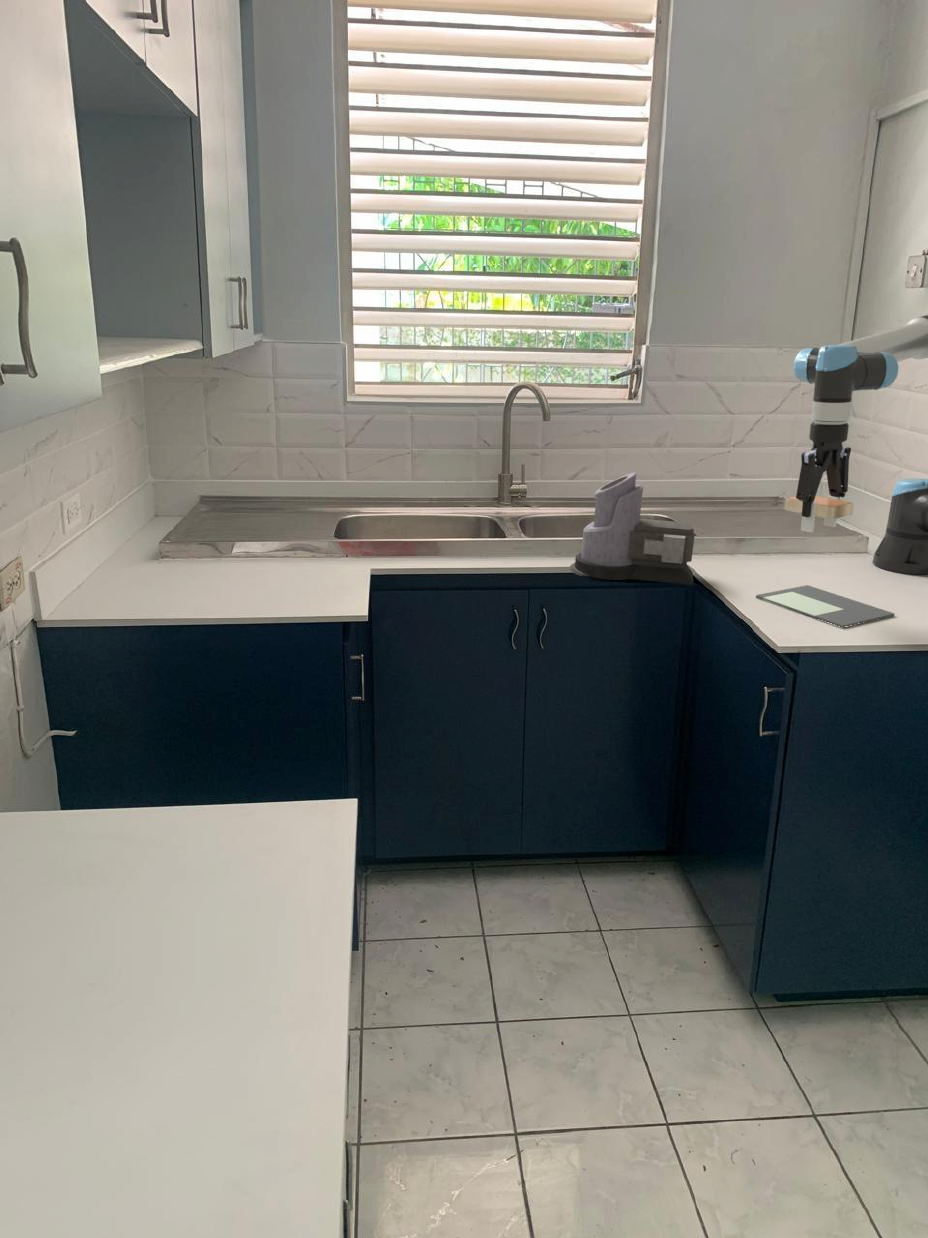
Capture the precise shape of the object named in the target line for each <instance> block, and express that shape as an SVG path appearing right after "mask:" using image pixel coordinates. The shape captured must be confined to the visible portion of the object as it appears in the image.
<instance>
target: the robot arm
mask: <svg viewBox="0 0 928 1238" xmlns="http://www.w3.org/2000/svg"><path fill="white" fill-rule="evenodd" d="M909 359H915V360H924V359H928V314H925V315H922V316H918V317H915V318H912V319H910V320H909V321H908V322H907V323H906V324H905V325H903V326H902V325H901V326H899V327H895V328H892V329H889V330H884V331H882V332H878V333H875V334H869V335H867V336H864V337H860V338H856V339H853V340H849V341H846V342H842V343H839V344H830V345H829V344H828V345H827V344H826V345H823V346H821V347H820V348H818V347H806V348H803V349H801V351H799V352H798V353H797V355H796V357H795V359H794V362H793V373H794V375H795V378H796V379H797V380H799V381H800V382H804V383H808V384H814V390H813V401H812V408H811V409H812V410H811V420H812V421H813V422H811V423H810V425H809V426H810V427H809V437H808V438H809V440H810V441H811V442H812V447H811V449H810V451H808V452H805V451H803V452H801V466H800V472H799V477H798V484H797V489H796V494H795V496H796V498H797V499H798V500H800V501H803V505H802V513H801V522H800V523H801V525H800V531H803V532H807V533H814V531H815V522H816V521H815V520H816V516H815V513H816V504H817V502H814V499H815V496H817V493H818V490H819V487H820V484H821V481H822V478H823V475H824V473H826V478H827V486H828V487H827V488H828V493H829V495H826V497H825V498H831V499H836V500H840V498H845V497H846V493H848V489H849V466H850V456H851V453H852V448H851V447H847V446H843V443H845V442H846V441H847V440H848V435H849V428H850V427H849V423H848V422H849V421H850V419H851V412H852V411H851V410H852V409H851V408H852V400H853V392H855V391H858V392H859V391H869V390H870V391H872V390H874V391H878V390H880V389H886V388H888V387H890V386H891V385H893V383H894V382H895V381H896V379H897V377H898V373H899V364H898V362H902V361H905V360H909ZM837 521H838V518H836V519H827V518H823V524H822V525H823V526H825V527H830V528H836V527H837ZM872 558H873V559H872V564H873V565H874V566H876V567H878V568H880V569H884V570H885V571H889V572H895V573H900V574H906V573H907V575H928V478H905V479H900V480H898V481H897V482H896V483H895V484H894V489H893V492H892V495H891V502H890V507H889V513H888V518H887V523H886V529H885V533H884V536H883V537H882V540H881V542H880V543H879V545H878V547H876V550H875V552H874V554H873V557H872Z"/></svg>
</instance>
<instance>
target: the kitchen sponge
mask: <svg viewBox="0 0 928 1238" xmlns="http://www.w3.org/2000/svg"><path fill="white" fill-rule="evenodd" d="M814 502H817V504H816V513H815V517H817V518H823V519H824V518H827V519H836V518H837V519H839V518H844V517H847V516H848V517H849V516H851V515H853V512H854V511H853V509H854V502H851V501H845V500H836V499H831V498H826V497H824V496H819V495H816V496H815V499H814ZM802 505H803V501H800V500H798V499H797V498H796V495H793V496H790V497H786V498H785V499H784V511H787V512H793V513H797V514H802Z"/></svg>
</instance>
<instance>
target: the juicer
mask: <svg viewBox="0 0 928 1238" xmlns="http://www.w3.org/2000/svg"><path fill="white" fill-rule="evenodd" d="M636 481H637V472H631V473H628V474H625V475H622V476H621V477H618V478H616V479H614V480H612V481H609V482H608V483H606V484H604V485H603V486H600V488H598V489H596V491H595V492H593V493H594V495H593V498H594V500H595V508H594V509H595V510H594V516H593V517H594V519H593V521H592V522H590V523H589V524H587V525H586V526H585V527H584V529H583V530H582V531H583V532H582V533H583V534H582V541H581V542H582V543H581V544H582V545H581V552H579V553H578V554H575V558H574V560H575V561H574V563H572V564H570V566H569V570H570V571H571V572H572V573H573V574H575V575H578V576H580V577H590V578H594V579H599V580H600V579H601V580H614V581H620V580H621V581H623V580H635V581H636V580H638V581H647V582H648V581H649V582H660V583H668V584H669V583H670V584H680V585H691V586H693V585H694V575H693V571H692V569H691V568H690V567H689V564H688V563H690V562H692V560H693V551H694V543H695V536H696V535H695V529H694V528H692V525H691V524H692V523H691V522H683V521H672V520H671V521H670V520H663V519H662V520H661V519H650V518H649V519H648V518H641V511H642V502H643V501H642V500H643V491H644V486H643V485H641V484H636Z"/></svg>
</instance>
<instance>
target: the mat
mask: <svg viewBox="0 0 928 1238" xmlns="http://www.w3.org/2000/svg"><path fill="white" fill-rule="evenodd" d="M755 599H759V600H762V601H764V602H766V603H767V602H768V603H770V604H773V605H776V606H778V607H780V608H783V607H784V609H787V610H789V611H792V612H795V613H797V614H801V615H803V616H806V617H809V618H811V617H812V619H814V618H815V620H817V619H820V620H823V621H826V622H829V623H832V624H835V625H837V626H840V627H845V626H850V625H854V624H858V623H863V622H867V623H870V622H869V621H871V622H874V621H873V620H875V621H878V620H877V619H880V620H883V619H887V618H892V617H895V613H894V612H891V611H888V610H884V609H881V608H878V607H875V606H873V605H870V604H867V603H864V602H860V601H857V600H854V599H851V598H848V597H844V596H843V595H840V594H839V595H838V594H836V593H834V592H833V593H832V592H830V591H826V590H824V589H821V588H817V587H814V586H812V585H808V584H807V585H802V586H798V587H797V586H796V587H790V588H786V589H780V590H776V591H775V590H774V591H771V592H766V593H760V594H756V595H755ZM820 620H819V621H820ZM823 621H822V622H823ZM863 624H864V623H863ZM837 626H836V627H837ZM850 627H851V626H850Z"/></svg>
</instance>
